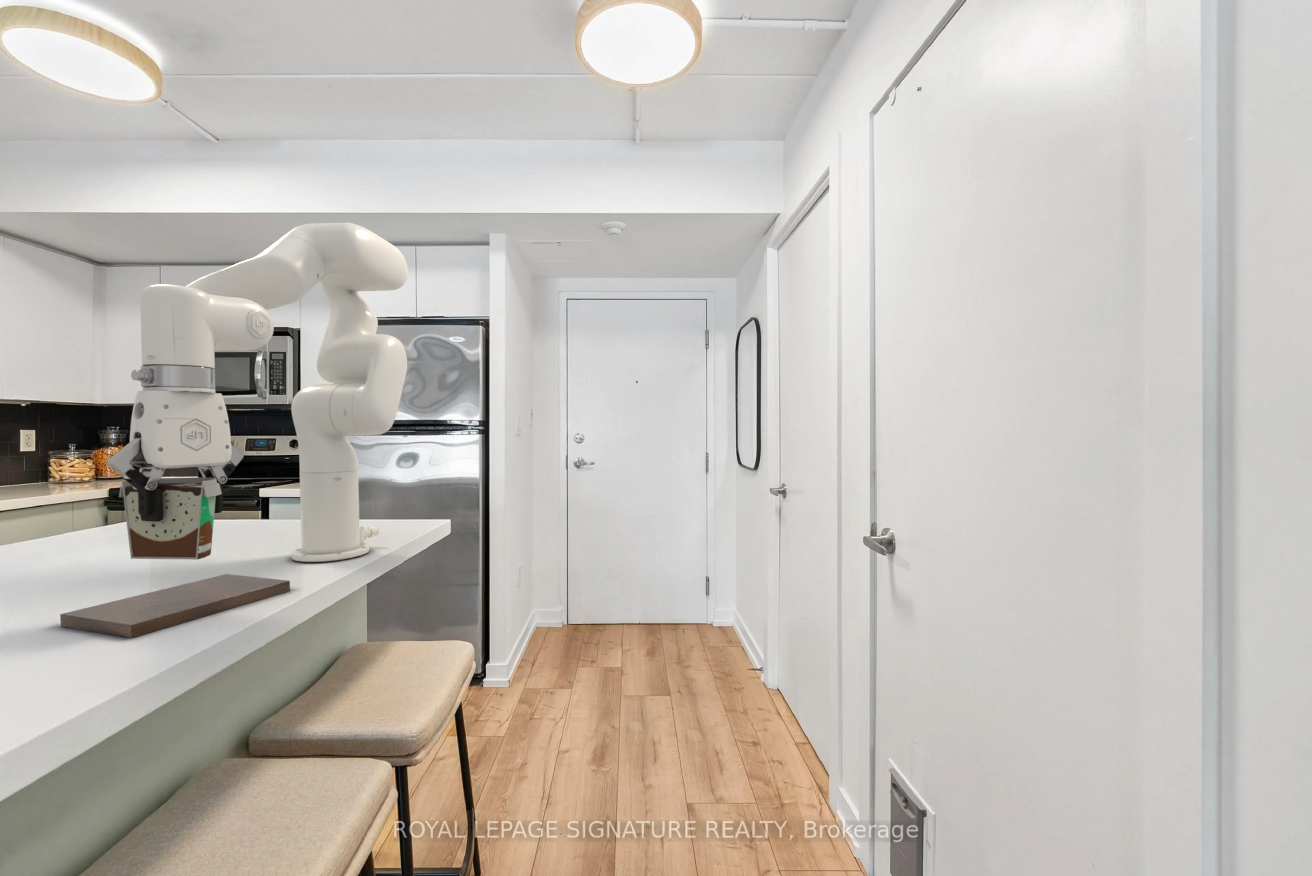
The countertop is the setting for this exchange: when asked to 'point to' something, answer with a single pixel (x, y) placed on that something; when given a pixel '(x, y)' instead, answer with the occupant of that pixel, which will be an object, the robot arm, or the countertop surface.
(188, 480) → the food container
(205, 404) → the robot arm
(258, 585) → the cutting board
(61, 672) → the countertop surface
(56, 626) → the countertop surface
